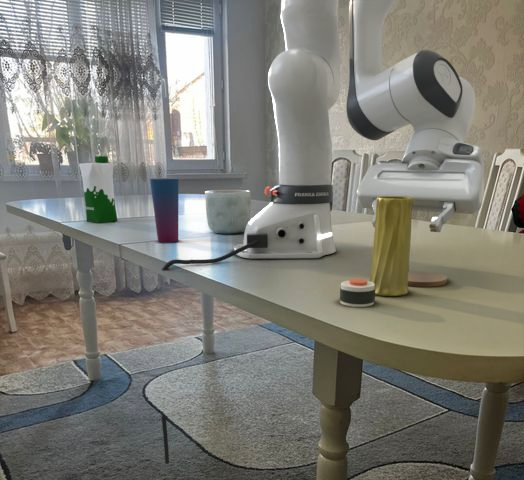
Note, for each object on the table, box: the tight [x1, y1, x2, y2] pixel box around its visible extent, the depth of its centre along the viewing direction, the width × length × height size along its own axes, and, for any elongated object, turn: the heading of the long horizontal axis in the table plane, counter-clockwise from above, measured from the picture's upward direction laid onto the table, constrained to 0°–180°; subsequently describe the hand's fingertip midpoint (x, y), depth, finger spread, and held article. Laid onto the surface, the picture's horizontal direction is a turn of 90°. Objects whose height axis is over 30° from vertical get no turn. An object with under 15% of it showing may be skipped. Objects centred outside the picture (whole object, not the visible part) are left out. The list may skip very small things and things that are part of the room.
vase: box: [369, 196, 413, 297], centre depth 82 cm, size 6×6×14 cm
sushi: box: [339, 278, 376, 308], centre depth 78 cm, size 5×5×3 cm
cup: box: [149, 177, 179, 244], centre depth 133 cm, size 7×7×15 cm
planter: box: [204, 189, 252, 235], centre depth 148 cm, size 12×12×11 cm
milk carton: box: [78, 155, 118, 224], centre depth 174 cm, size 9×9×20 cm
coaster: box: [408, 270, 448, 288], centre depth 92 cm, size 9×9×1 cm
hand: (404, 227), depth 87 cm, fingers open, 8 cm apart
